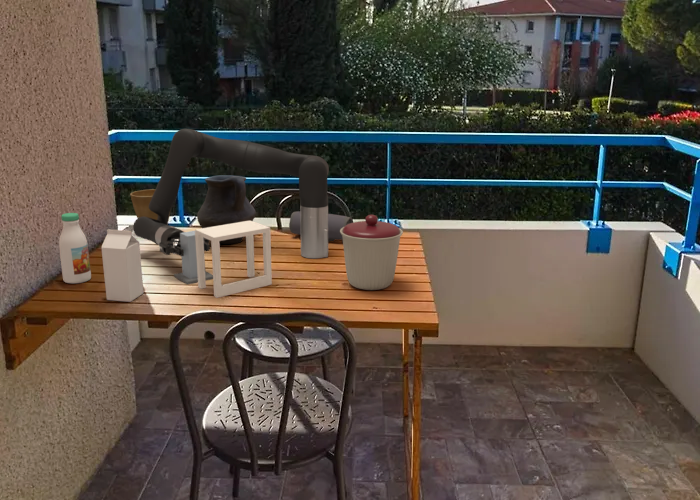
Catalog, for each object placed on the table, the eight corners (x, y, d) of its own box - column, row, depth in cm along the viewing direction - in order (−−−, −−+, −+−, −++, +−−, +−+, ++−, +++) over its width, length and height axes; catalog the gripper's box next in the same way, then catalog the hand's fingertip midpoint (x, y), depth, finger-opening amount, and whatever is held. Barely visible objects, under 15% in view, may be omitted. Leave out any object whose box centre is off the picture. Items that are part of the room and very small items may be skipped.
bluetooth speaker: (288, 239, 235) (288, 212, 232) (300, 233, 243) (299, 207, 240) (344, 246, 226) (344, 218, 223) (354, 240, 234) (354, 213, 231)
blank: (182, 274, 191) (179, 233, 187) (197, 271, 194) (195, 230, 190) (190, 278, 187) (187, 236, 184) (205, 275, 190) (203, 233, 187)
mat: (173, 276, 191) (173, 274, 191) (200, 271, 197) (200, 268, 197) (187, 284, 185) (187, 281, 184) (214, 278, 190) (214, 275, 190)
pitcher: (236, 231, 244) (234, 167, 238) (269, 242, 229) (267, 174, 222) (188, 240, 231) (184, 172, 224) (220, 253, 216) (216, 180, 209)
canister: (404, 277, 193) (407, 210, 187) (396, 297, 176) (399, 224, 170) (346, 273, 196) (347, 206, 191) (333, 292, 179) (333, 220, 174)
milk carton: (130, 302, 170) (124, 234, 165) (106, 300, 172) (99, 232, 166) (143, 293, 177) (138, 227, 172) (120, 291, 178) (114, 226, 173)
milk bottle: (64, 285, 183) (56, 218, 177) (62, 277, 189) (54, 212, 184) (92, 281, 186) (85, 215, 181) (89, 274, 193) (82, 210, 187)
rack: (198, 287, 182) (194, 229, 178) (251, 275, 194) (250, 220, 189) (216, 297, 174) (213, 237, 170) (271, 284, 186) (270, 227, 181)
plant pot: (181, 230, 245) (178, 189, 241) (164, 240, 231) (160, 197, 227) (145, 228, 248) (142, 187, 243) (126, 237, 234) (122, 195, 229)
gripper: (148, 231, 193) (172, 242, 181) (191, 224, 202) (216, 234, 190) (150, 254, 195) (173, 267, 183) (193, 246, 204) (217, 258, 192)
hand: (195, 250), depth 187 cm, fingers open, 8 cm apart
